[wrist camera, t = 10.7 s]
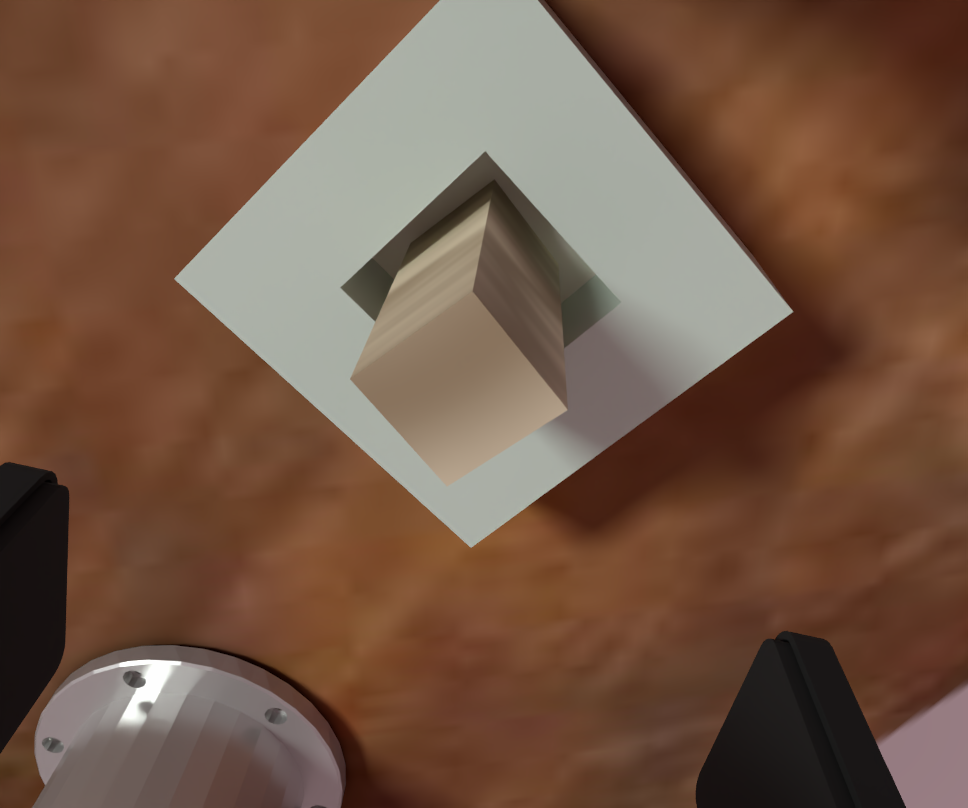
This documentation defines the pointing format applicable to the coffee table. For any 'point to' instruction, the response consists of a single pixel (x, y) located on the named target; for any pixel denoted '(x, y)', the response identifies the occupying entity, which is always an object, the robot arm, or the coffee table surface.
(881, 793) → the robot arm
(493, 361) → the birch stick
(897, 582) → the coffee table surface
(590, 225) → the grey square socket block
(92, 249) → the coffee table surface
